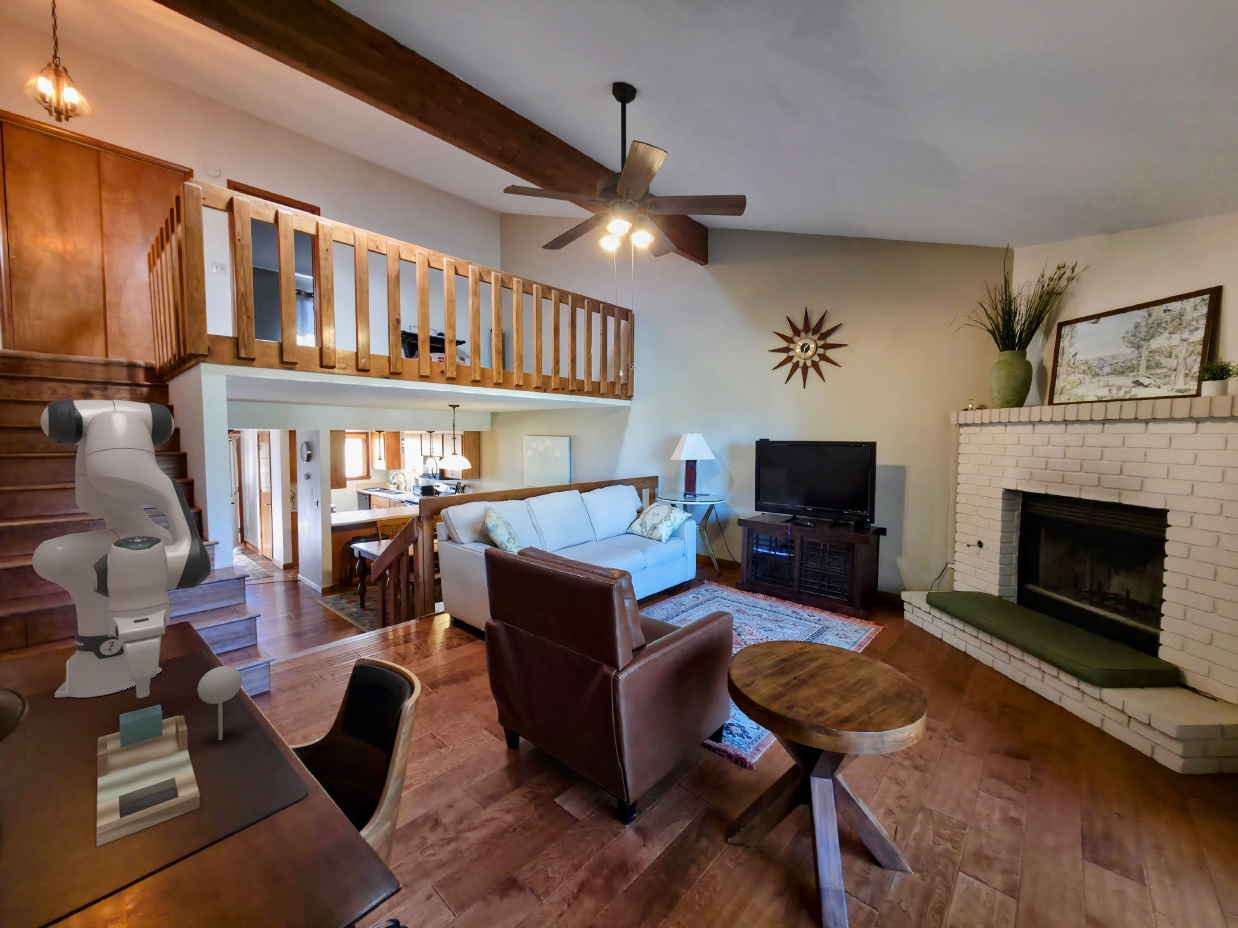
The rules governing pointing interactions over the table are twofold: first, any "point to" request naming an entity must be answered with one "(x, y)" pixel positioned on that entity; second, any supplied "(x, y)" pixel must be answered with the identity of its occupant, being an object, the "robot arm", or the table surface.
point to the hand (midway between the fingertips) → (141, 687)
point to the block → (140, 725)
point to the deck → (144, 781)
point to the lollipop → (219, 689)
